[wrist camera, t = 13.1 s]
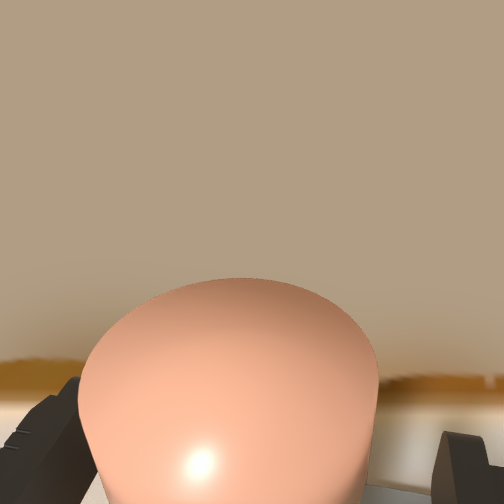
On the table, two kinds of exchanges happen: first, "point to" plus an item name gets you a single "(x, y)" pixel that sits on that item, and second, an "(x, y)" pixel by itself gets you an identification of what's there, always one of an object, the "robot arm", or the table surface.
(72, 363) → the table surface
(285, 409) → the marker
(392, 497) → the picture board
